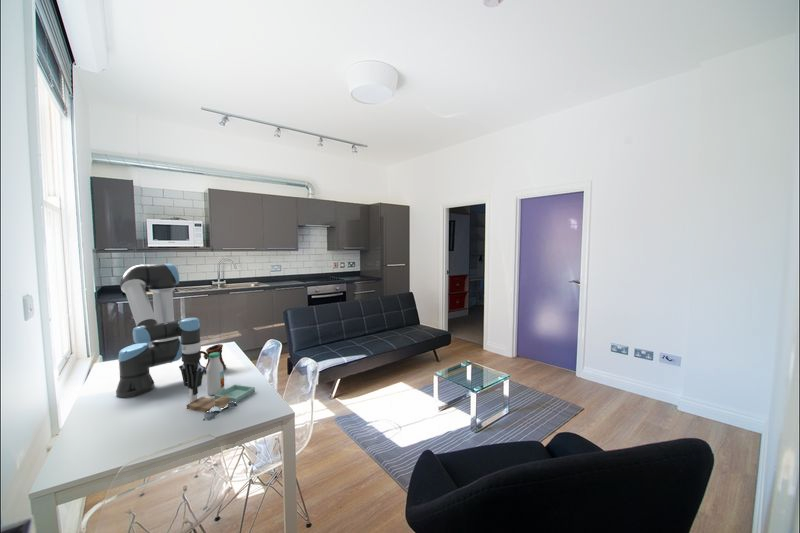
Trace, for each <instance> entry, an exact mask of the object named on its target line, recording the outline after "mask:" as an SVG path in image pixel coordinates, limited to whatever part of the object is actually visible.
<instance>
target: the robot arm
mask: <svg viewBox="0 0 800 533" xmlns="http://www.w3.org/2000/svg"><path fill="white" fill-rule="evenodd" d="M179 274H180V273H179V271H178V269H177V266H176V265H174V264H173V263H151V264H150V263H149V264H137V265H133V266H131V267H130V268H128V269H126V270H125V271H124V273H123V274H122V276H121V278H120V279H119V280H120V281H119V285H120V287H119V288H120V289H121V291H122V292H123V293H125V296H126V299H127V302H128V305H129V309H130V311H131V314H132V317H133V320H134V322H135V326H136V327H134V328H132V340H133V342H134V344H131V345H129V346H126V347H124V348H122V349H120V350H119V352H118V366H119V367H118V368H119V381H118V384H117V387H116V389H115V395H116V397H118V398H131V397H136V396H140V395H143V394H146V393H149V392H150V391H152V390H153V389H154V388H155V381H154V380H153V377H152V375H151V373H150V368H153V367H158V366H161V365H167V364H172V363H173V362H177V361H179V360H181V362H182V364H181V365H179V366H178V369H179V370H180V372H181V376H182V377H181V378H182V381H183V386H184V387H187V390H188V396H189V397H188V398H189V403H191V402H193V401H195V400H197V399H198V392H199V390H198V388H199V387H201V386H202V382H203V376H204V373H203V371H204V369H205V367H206V366H203V365H202V364H201V361H200V360H201V358H202V353H201V351H202V350H201V349H202V347H201V346H202V344H201V324H200V319H199V318H198V317H186V318H177V319H175V312H174V310H175V309H174V295H173V292H174V290H175V289H176V285H178V284H180V275H179ZM146 287H148V291H150V292H151V294H152V300H153V301H152V303H153V307H152V304H151V302H150V299H149V296H148V293H147V291H146ZM179 337H180V338H179ZM149 343H152V344H149ZM201 365H202V366H203V367H202V366H201Z"/></svg>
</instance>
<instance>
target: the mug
mask: <svg viewBox="0 0 800 533" xmlns="http://www.w3.org/2000/svg"><path fill="white" fill-rule="evenodd" d="M223 346H224V344H221V343H220V344H214V345H212V346H210V347H208V348H206V349H205V350H200V351H201V354H202V355H203V356H202V357H203V359H204V360H205V361H206V360H207V363H206V365H205V366H203V365H202V364H200V365H201V366H202V367H205V369H204V371H203V374H204V373H205V374H206V371H207V367H208V365H209V362H210V359H209V354H211V353H214V352H219V353H220V357H219V359H220V362H221V363H222V365H223V368H224V371H225V370H226V367H227V365H226V364H225V361H224V359H223V354H222V353H223Z"/></svg>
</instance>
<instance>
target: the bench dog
mask: <svg viewBox="0 0 800 533" xmlns="http://www.w3.org/2000/svg"><path fill="white" fill-rule="evenodd" d="M228 403H229V396H222V397H220V398H218V399H216V400H215V401H214V404H215V406H217V407H219V408H224V407H225V406H226V405H227V404H228ZM229 404H230V403H229Z"/></svg>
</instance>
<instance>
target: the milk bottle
mask: <svg viewBox="0 0 800 533" xmlns="http://www.w3.org/2000/svg"><path fill="white" fill-rule="evenodd" d="M219 357H220V353H219V352H214V353H211V354H209V359H210V362H209V365H208V367H207V371H206V373H205V374H206V375H205V376H206V377H205V378H206V393H207V395H209V396H215V395H216V394H218V393H220V392H222V391H223V390H225V370H224V368H223V365H222V363H221V362H220V359H219Z"/></svg>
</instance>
